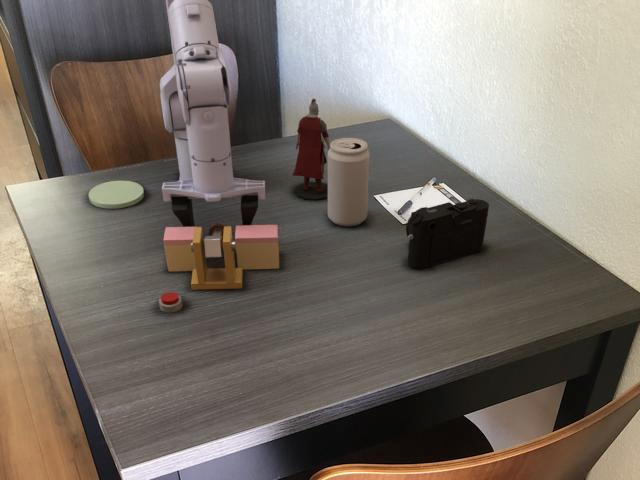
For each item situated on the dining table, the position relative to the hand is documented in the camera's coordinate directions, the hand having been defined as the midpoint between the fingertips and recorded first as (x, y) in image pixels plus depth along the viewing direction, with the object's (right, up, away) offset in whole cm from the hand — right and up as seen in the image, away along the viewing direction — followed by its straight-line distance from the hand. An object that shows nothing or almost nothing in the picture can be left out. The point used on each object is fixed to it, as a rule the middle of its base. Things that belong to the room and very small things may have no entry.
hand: (220, 243), depth 110 cm
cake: (+6, -4, -3) cm, 8 cm away
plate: (-19, +11, +12) cm, 25 cm away
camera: (+33, -1, 0) cm, 33 cm away
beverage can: (+19, +6, +7) cm, 22 cm away
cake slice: (-5, -4, -4) cm, 7 cm away
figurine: (+14, +13, +14) cm, 23 cm away
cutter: (0, -2, -5) cm, 6 cm away
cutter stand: (+1, -7, -7) cm, 10 cm away
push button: (-5, -12, -11) cm, 17 cm away
